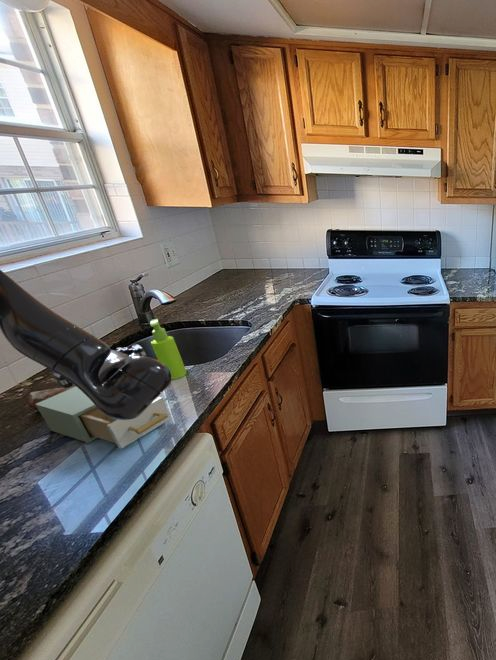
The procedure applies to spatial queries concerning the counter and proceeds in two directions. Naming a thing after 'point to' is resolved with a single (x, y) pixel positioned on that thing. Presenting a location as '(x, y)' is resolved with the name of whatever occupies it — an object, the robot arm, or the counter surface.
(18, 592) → the counter surface
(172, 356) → the soap dispenser
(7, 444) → the counter surface
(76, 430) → the cabinet
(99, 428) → the drawer
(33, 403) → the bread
